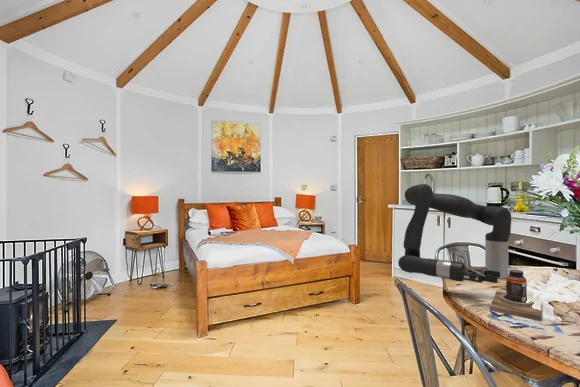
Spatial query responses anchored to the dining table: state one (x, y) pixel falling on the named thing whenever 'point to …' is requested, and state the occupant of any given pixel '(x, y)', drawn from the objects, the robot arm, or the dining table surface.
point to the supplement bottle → (516, 286)
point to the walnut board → (514, 307)
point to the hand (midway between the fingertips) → (498, 277)
